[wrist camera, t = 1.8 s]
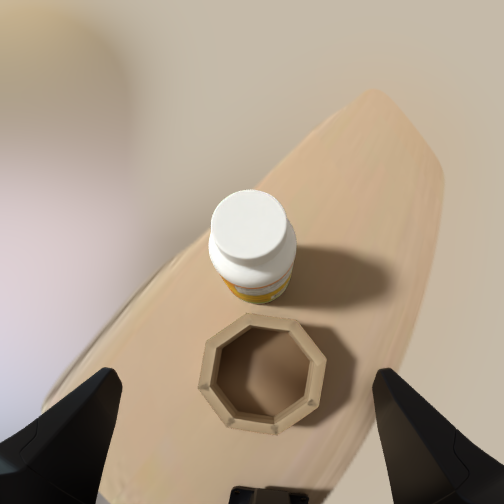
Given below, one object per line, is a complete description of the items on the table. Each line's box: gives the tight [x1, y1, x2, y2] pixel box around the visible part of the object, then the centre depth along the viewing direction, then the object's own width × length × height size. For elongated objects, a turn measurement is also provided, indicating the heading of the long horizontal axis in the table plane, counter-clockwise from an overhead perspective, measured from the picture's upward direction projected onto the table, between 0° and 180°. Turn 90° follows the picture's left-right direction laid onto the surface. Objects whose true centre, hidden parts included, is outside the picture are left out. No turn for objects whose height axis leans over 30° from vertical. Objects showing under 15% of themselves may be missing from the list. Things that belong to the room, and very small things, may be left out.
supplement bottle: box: [209, 190, 297, 304], centre depth 19 cm, size 5×5×10 cm
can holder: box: [198, 313, 327, 435], centre depth 19 cm, size 8×8×3 cm
